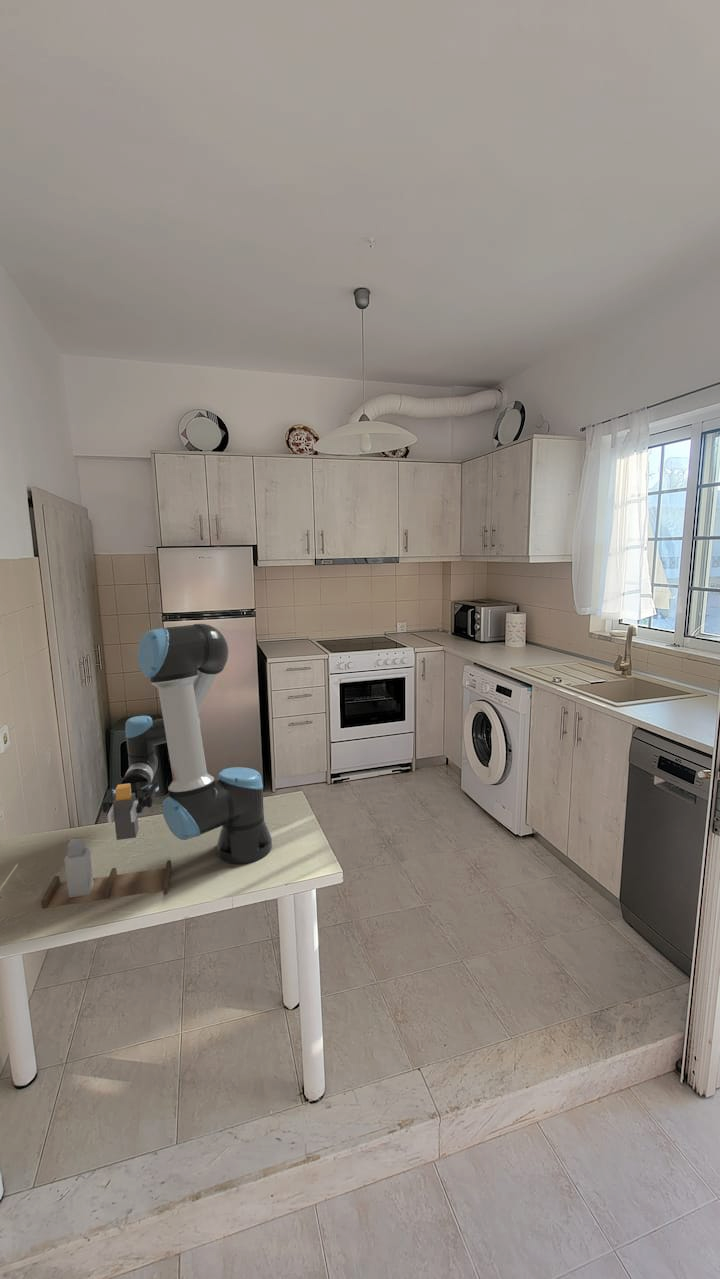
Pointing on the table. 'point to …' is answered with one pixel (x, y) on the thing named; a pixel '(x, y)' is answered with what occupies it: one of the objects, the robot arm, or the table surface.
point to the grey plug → (78, 868)
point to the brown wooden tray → (111, 886)
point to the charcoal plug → (124, 812)
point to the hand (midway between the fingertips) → (121, 818)
